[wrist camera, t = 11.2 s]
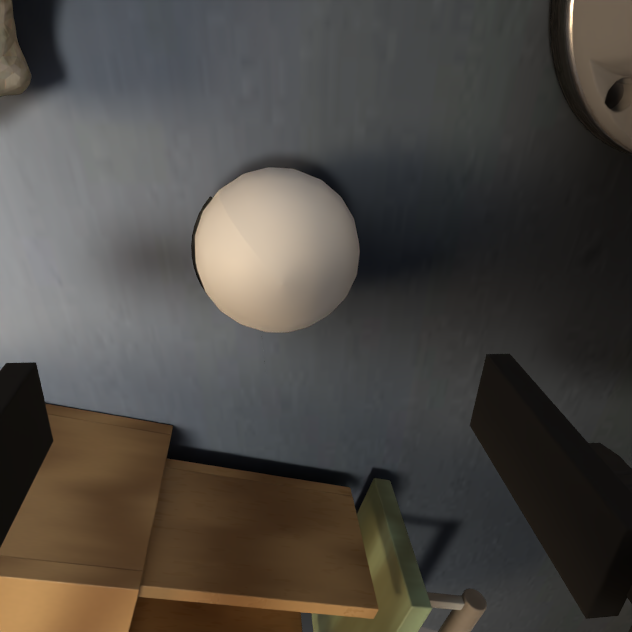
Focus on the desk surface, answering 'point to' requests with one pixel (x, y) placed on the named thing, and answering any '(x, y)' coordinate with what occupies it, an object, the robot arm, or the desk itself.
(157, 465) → the cabinet
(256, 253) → the cream egg
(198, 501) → the drawer
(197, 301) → the desk surface
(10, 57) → the ceramic sculpture
